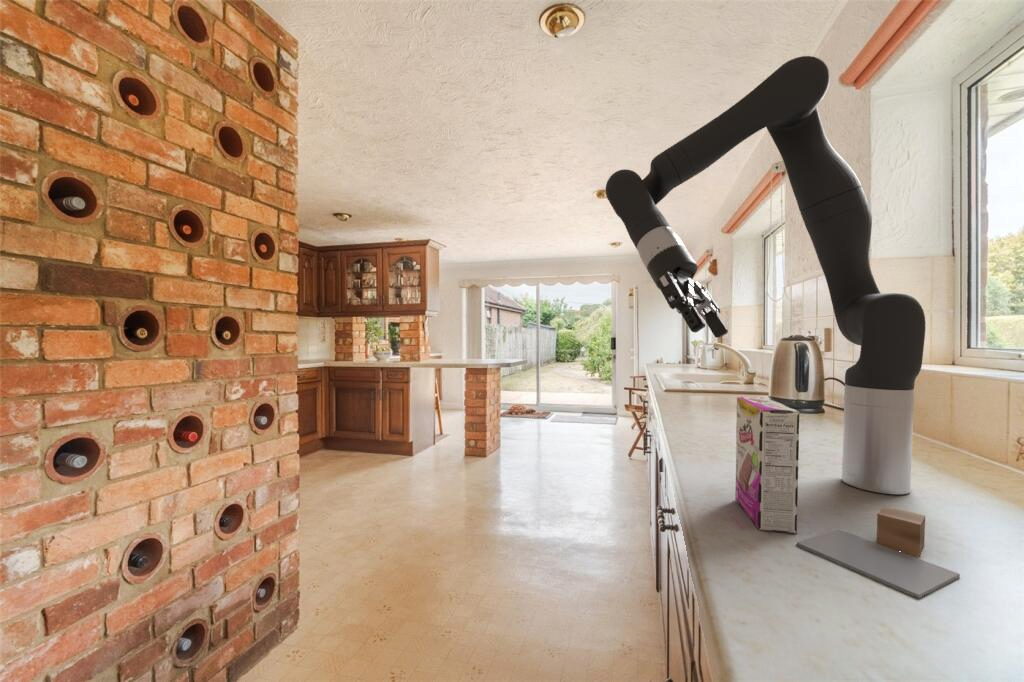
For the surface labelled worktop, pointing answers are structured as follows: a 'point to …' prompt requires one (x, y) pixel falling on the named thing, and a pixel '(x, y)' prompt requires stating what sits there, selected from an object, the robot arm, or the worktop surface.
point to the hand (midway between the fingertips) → (711, 332)
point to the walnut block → (901, 530)
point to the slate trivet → (879, 562)
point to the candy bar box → (767, 463)
